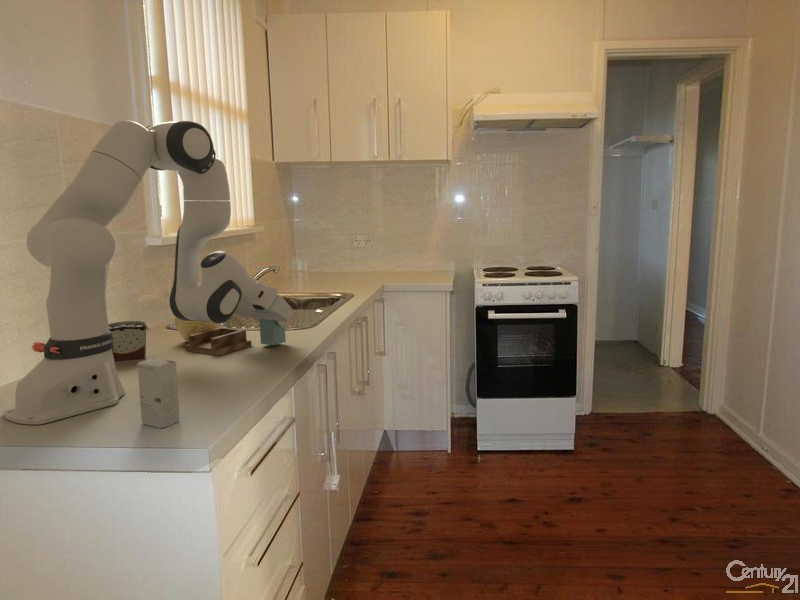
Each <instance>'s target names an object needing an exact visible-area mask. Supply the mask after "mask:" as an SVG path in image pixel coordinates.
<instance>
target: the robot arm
mask: <svg viewBox="0 0 800 600" xmlns="http://www.w3.org/2000/svg"><path fill="white" fill-rule="evenodd" d="M149 169H153V170H156V171H175V172H177V175H179V178H180V179H181V182H182V187H183V190H182V191H183V215H182V220H181V224H180V225H179V227H178V230H177V234H176V239H175V254H174V255H175V256H174V259H175V260H174V271H173V272H174V273H173V282H172V288H171V290H170V294H169V307H170V308H169V309H170V310H171V312H172V314H173V316H174V317H177V318H178V319H180V320H183V321H201V322H211V323H220V324H224V323H225V322H227V321H229V320H230V319H231V318H232V316H233V315H235V316H237V317H240V318H249V319H253V320H255V321H256V322H259V323H260V320H259V319H265V320H274V321H277V322H276V324H277V325H278V326H279V327H283V326H284V324H285V325H286V323H287V322H290V319H291V317H292V316H293V312H294V311H293V308H292V307H291V305H290V304H289V303H288V302H287V301H286V299H284V297H283V296H281V295H280V294H279V291H278V289H277V288H275V286H274V287H273V286H270V285H267V284H264V283H262V282H260V281H258V280H256V279H255V277H253V276H252V275H250V274H249V273H248V272H247V269H246V268H245V267H244V265H243V264H242V263H241V262H240V261H239V260H238V259H237V258H236V257H235V256H233V255H232V254H231V253H229V252H228V251H225V250H218V251H213V252H211V253H208V255H206V256H205V257H204V258H203V259H202V260H201V262H200V258H201V252H202V248H203V247H204V245H205V244H206V243H207V242H209V241H210V240H212V239H213V238H216V237H218V236H219V235H221V234H222V233H223V232H224V231H225V230H226V229H227V228H228V227H229V224H230V221H231V217H232V213H231V212H232V210H231V194H230V185H229V179H228V173H227V170H226V167H225V164H224V162H223V160H221V159H220V158H218V157H216V151H215V148H214V142H213V139H212V137H211V135H210V133H209V132H208V130H207V129H206V128H205V126H203V125H202V124H200V123H198V122H196V121H192V120H179V121H178V120H177V121H165V122H161V123H158V124H153V125H149V126H144V125H142V124H140V123H138V122H136V121H133V120H128V119H127V120H126V119H124V120H123V119H122V120H120V121H119V120H118V121H117V122H116V123H114V124H113V125H112V126H111V127H110V128H109V129H108V130H107V131H106V132H105V133H104V134H103V135H102V137H101V138H100V139H99V140H98V142H97V143H96V144H95V146H94V147H93V149H92V150H91V152H90V153H89V154H88V157H87V158H86V159H85V161H84V163H83V164H82V165H81V167H80V169H79V171H78V172H77V174H76V175H75V177H74V178H73V180H72V181H71V183H70V184H69V185H68V187H67V188H66V189H65V190H64V191H63V192H62V193H61V194H60V196H59V197H58V198H57V199H56V200H55V201H54V203H52V205H51V206H50V207H49V209H47V210H46V212H45V213H44V214H43V216H42V217H41V218H40V219H39V220H38V221H37V222H36V224H34V226H32V227H31V228H30V229H29V231H28V232H27V235H26V248H27V250H28V252H29V253H30V255H31V256H32V257H33V259H35V260H36V261H37V262H38V263H40V264H41V265H42V266H45V267H47V268H50V281H49V290H48V291H49V292H48V295H47V297H46V299H45V300H46V301H45V305H46V312H47V314H46V315H47V320H48V328H49V336H50V337H49V338H48V341H47V342H46V343H43V342H38V341H35V342H33V343H32V345H31V351H34V353H35V352H36V353H43V358H42V359H41V360H40V361H39V362H38V363H37V364H36V365H35V366H34V367H33V368H32V369H31V370H30V371H29V372H28V373H27V374H26V375H24V377H22V378H21V380H20V381H19V382H17V385H16V387H15V388H16V389H15V393H14V395H15V398H14V399H15V400H14V402H15V403H14V404H13V405H12V406H8V407H6V408H5V409H4V410H3V418H5V420H8V421H10V422H13V423H16V424H22V425H43V424H47V423H52V422H55V421H59V420H61V419H67V418H69V417H73V416H77V415H81V414H85V413H87V412H91V411H95V410H99V409H102V408H107V407H111V406H113V405H114V406H115V405H117V404H118V403H119V402H120V398H121V397H123V396H124V394H125V393H126V391H125V389H124V387H123V385H122V382H121V380H120V378H119V373H118V371H117V366H116V363H115V362H114V357H113V351H114V346H113V338H112V332H111V331H110V330H109V324H110V323H109V316H108V307H107V285H108V276H109V268H110V267H109V266H110V262H111V261H112V259H113V256H114V255H115V252H116V251H115V250H116V241H115V238H114V235H113V234H112V233H111V231H110V230H109V229H108V228H107V226H109V225H110V223H111V222H113V220H114V219H115V218H116V217H118V216H119V215H120V214H121V213H123V212H124V210H125V209H126V207H127V206H128V204H129V202H130V200H131V199H132V197H133V195H134V194H135V192H136V190H137V188H138V187H139V185H140V183H141V182H142V180H143V178H144V176H145V174H146V172H147V171H148V170H149ZM200 270H201V282H200V280H199V274H200Z"/></svg>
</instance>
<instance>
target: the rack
mask: <svg viewBox="0 0 800 600" xmlns="http://www.w3.org/2000/svg"><path fill="white" fill-rule="evenodd" d="M251 345H252V340H248V339H247V330H246V329H242V328H241V329H240V328H232V327H223V326H220V327H219V328H215V329H212V330H208V331H204V332H200V333H196V334H192V335H189V342H188V344H184V349H185V351H189V352H195V353H201V354H205V355H206V354H208V355H212V356H213V355H214V356H223V355H226V354H230V353H233V352H236V351H239V350H242V348H243V349H245V347H246V348H248V346H249V347H252V346H251Z"/></svg>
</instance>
